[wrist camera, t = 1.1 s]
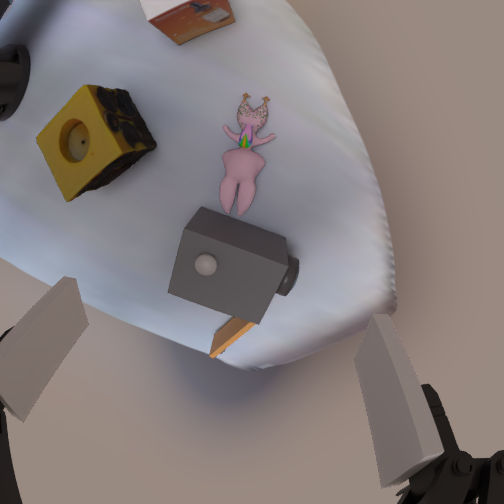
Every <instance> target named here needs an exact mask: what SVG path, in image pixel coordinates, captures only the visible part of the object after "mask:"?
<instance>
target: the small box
mask: <svg viewBox="0 0 504 504" xmlns="http://www.w3.org/2000/svg"><path fill="white" fill-rule="evenodd" d="M139 1H140V3H141V6H142V8H143V11H144V13H145V16H146V18H147V21H148V22H149V23H151V24H152V25H153V26H155V27H156V28H157V29H159V30H160V31H161V32H162V33H164V34H165V35H166V36H167V37H169V38H170V39H171V40H172V41H174V42H175V43H176V44H177V45H180V44H182V43H184V42H186V41H188V40H190V39H193V38H195V37H197V36H199V35H202V34H204V33H207V32H209V31H212V30H214V29H217V28H220V27H222V26H225V25H228V24H231V23H234V22H235V18H234V15H233V12H232V9H231V6H230V3H229V1H228V0H139Z"/></svg>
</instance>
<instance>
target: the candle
mask: <svg viewBox="0 0 504 504" xmlns="http://www.w3.org/2000/svg"><path fill="white" fill-rule="evenodd" d="M36 140H37V144H38V146H39V147H40V149H41V151H42V153H43V154H44V157H45V160H46V162H47V164H48V166H49V168H50V170H51V172H52V174H53V176H54V178H55V180H56V182H57V184H58V186H59V188H60V190H61V192H62V194H63V196H64V198H65V200H66V201H67V202H69V201H72V200H73V199H74V198H76V197H79V196H80V195H81V194H83V193H84V192H86V191H90V190H96V189H98V188H100V187H102V186H105V185H107V184H109V183H110V182H111V181H112V180H114V179H115V178H116V177H118V176H120V175H121V174H122V173H123V172H124V171H126V170H127V169H128V168H130V167H131V165H132V164H135V163H136V162H137V161H139V159H140V158H141V157H143V156H144V155H145V154H146V153H147V152H149V151H152V150H154V148H155V147H156V142H155V141H154V140H153V138H152V136H151V133H150V132H149V131H148V129H147V127H146V125H145V122H144V121H143V119H142V117H141V116H140V114H139V112H138V111H137V109H136V106H135V104H134V103H133V102H132V100H131V98H130V96H129V92H127V91H126V90H121V89H118V88H117V89H109V88H103V87H101V86H97V85H83V86H82V87H81V88H80V89H79V90H78V91H77V92H76V93H75V94H74V95H73V97H72V98H71V99H70V100H69V101H68V103H67V104H66V105H65V106H64V107H63V108H62V109H61V110H60V111H59V112H58V113H57V115H56V116H55V117H54V118H53V119H52V120H51V121H50V122H49V124H48V125H47V126H46V127H45V128H44V129H43V130H42V131H41V132H40V133H39V135H38V136H37V137H36Z"/></svg>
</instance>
